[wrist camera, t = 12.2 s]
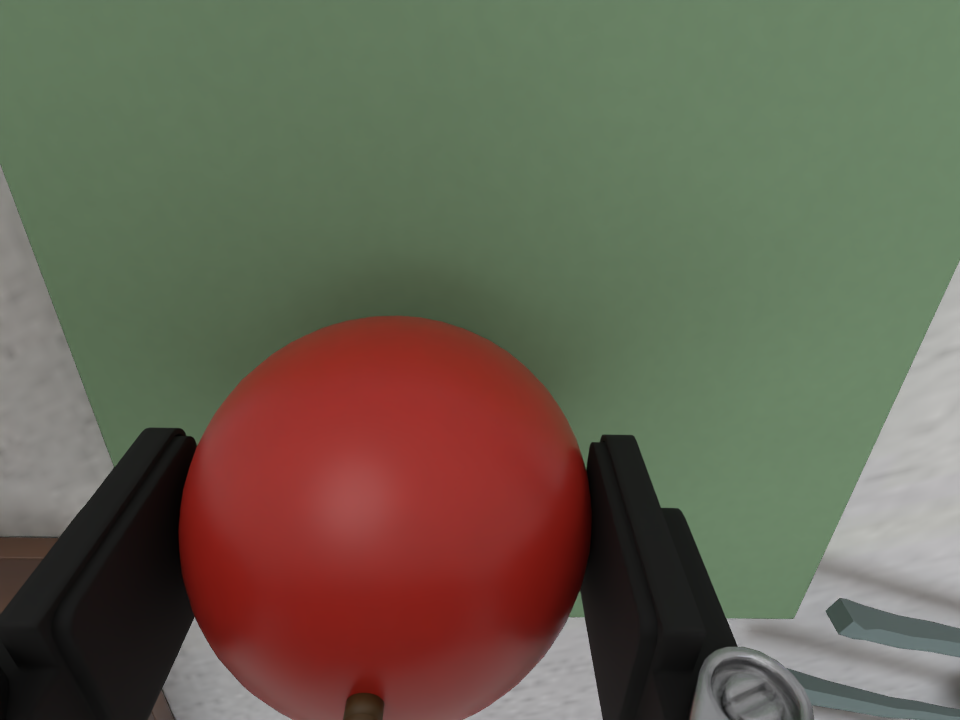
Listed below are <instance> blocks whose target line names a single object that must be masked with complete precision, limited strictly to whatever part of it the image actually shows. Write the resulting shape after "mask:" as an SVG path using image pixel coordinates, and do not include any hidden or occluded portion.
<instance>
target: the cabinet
mask: <svg viewBox="0 0 960 720" xmlns="http://www.w3.org/2000/svg"><path fill="white" fill-rule="evenodd" d="M58 539H59V538H26V537H0V614H1V613H2V611H3V610H4V609H5V608H6V606H7V605H8V604H9V602H10V601H11V600H12V598H13V597H14V596H15V595H16V593H17V592H18V591H19V589H20V588H21V587H22V585H23V584H24V583H25V582H26V580H27V579H28V578H29V576H30V575H31V574H32V573H33V571H34V570H35V569H36V567H37V566H38V565H39V563H40V562H41V561H42V560H43V558H44V557H45V556H46V554H47V553H48V552H49V550H50V549H51V548H52V547H53V545H54V544H55V543H56V541H57V540H58ZM148 720H174V718H173V715H172V713H171V711H170V708H169V706H168V704H167V701H166V699H165V697H164V694H163V692H162V690H161V692H160V694H159V696H158V699H157V701H156V703H155V705H154V707H153V710H152V712H151V714H150V716H149V718H148Z"/></svg>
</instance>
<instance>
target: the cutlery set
mask: <svg viewBox="0 0 960 720" xmlns="http://www.w3.org/2000/svg"><path fill="white" fill-rule="evenodd" d="M826 613H827V614H828V616H829V618H830V620H831V622H832V623H833V625H834V627H835V629H836V631H837V632H838V634H840V635H843V636H846V637H849V638H852V639H859V640H867V641H871V642H875V643H879V644H884V645H888V646H892V647H896V648H903V649H911V650H920V651H928V652H934V653H939V654H945V655H950V656H955V657H960V629H959V628H955V627H951V626H947V625H943V624H939V623H935V622H930V621H925V620H920V619H915V618H909V617H904V616H898V615H895V614H892V613H888V612H885V611H881V610H878V609H874V608H871V607H867V606H864V605H861V604H858V603H856V602H853V601H850V600H847V599H843V598H839V599H838V600H837V601H836V602H835V603H834V604H833V605H832V606H830V607H829V608H828V609H827V610H826ZM786 669H787V668H786ZM788 670H789V671H790V672H791V673H792V674H793V675H794V676H795V678H796V679H797V680H798V681H799V683H800V684H801V685H802V686H803V688H804V689H805V692H806V694H807V696H808V698H809V700H810V702H811V704H812V705H815V706H821V707H827V708H833V709H839V710H845V711H851V712H856V713H862V714H867V715H873V716H879V717H886V718H902V719H915V720H960V709H954V708H947V707H942V706H937V705H933V704H928V703H924V702H919V701H913V700H906V699H900V698H893V697H888V696H884V695H880V694H877V693H873V692H869V691H865V690H862V689H858V688H854V687H850V686H846V685H842V684H838V683H834V682H830V681H826V680H823V679H820V678H817V677H813V676H810V675H807V674H804V673H801V672H797V671H794V670H791V669H788Z"/></svg>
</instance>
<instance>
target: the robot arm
mask: <svg viewBox="0 0 960 720" xmlns="http://www.w3.org/2000/svg"><path fill="white" fill-rule="evenodd" d="M196 448H197V444H196V441H195V439H194V438H193V437H192V436H186V433H185V431H184V430H183V429H181V428H154V427H149V428H146V429H144V430H143V431H142V432H141V433H140V435H139V436H138V437H137V439H136V440H135V441H134V443H133V444H132V445H131V446H130V448H129V449H128V450H127V452H126V453H125V454H124V456H123V457H122V458H121V459H120V461H119V462H118V463H117V465H116V466H115V467H114V469H113V470H112V471H111V473H110V474H109V475H108V476H107V478H106V479H105V480H104V482H103V483H102V484H101V486H100V487H99V488H98V489H97V491H96V492H95V493H94V495H93V496H92V497H91V499H90V500H89V501H88V502H87V504H86V505H85V506H84V507H83V508H82V509H81V510H80V512H79V513H78V514H77V515H76V517H75V518H74V519H73V521H72V522H71V523H70V525H69V526H68V527H67V528H66V530H65V531H64V532H63V534H62V535H61V536H60V537H59V539H58V540H57V541H56V543H55V544H54V545H53V547H52V548H51V549H50V550H49V552H48V553H47V554H46V556H45V557H44V558H43V560H42V561H41V562H40V563H39V565H38V566H37V567H36V569H35V570H34V571H33V573H32V574H31V575H30V576H29V578H28V579H27V580H26V582H25V583H24V584H23V585H22V587H21V588H20V589H19V591H18V592H17V593H16V595H15V596H14V597H13V598H12V600H11V601H10V602H9V604H8V605H7V606H6V608H5V609H4V610H3V611H2V613H1V614H0V720H148V718H149V716H150V714H151V712H152V710H153V707H154V705H155V703H156V701H157V699H158V696H159V694H160V692H161V690H162V687H163V685H164V683H165V681H166V679H167V676H168V674H169V672H170V670H171V668H172V665H173V663H174V661H175V659H176V657H177V654H178V652H179V650H180V648H181V646H182V643H183V641H184V639H185V637H186V635H187V632H188V630H189V628H190V626H191V623H192V621H193V619H194V617H195V616H194V613H193V611H192V608H191V605H190V601H189V598H188V595H187V592H186V588H185V584H184V580H183V576H182V571H181V562H180V552H179V534H178V530H179V518H180V507H181V501H182V494H183V488H184V485H185V481H186V477H187V474H188V470H189V467H190V464H191V461H192V459H193V456H194V453H195V450H196ZM586 471H587V475H588V482H589V489H590V498H591V507H592V525H591V541H590V552H589V557H588V561H587V566H586V570H585V574H584V578H583V582H582V585H581V589H580V593H581V599H582V604H583V610H584V615H585V621H586V627H587V632H588V638H589V644H590V649H591V655H592V660H593V666H594V672H595V677H596V683H597V689H598V694H599V700H600V706H601V711H602V717H603V720H814V715H813V709H812V704H811V702H810V700H809V698H808V696H807V694H806V692H805V689H804V688H803V686H802V685H801V684H800V683H799V681H798V680H797V679H796V678H795V676H794V675H793V674H792V673H791V672H790V671H789V670H788V669H786V668H785V667H784V666H783V665H781V664H780V663H779V662H778V661H777V660H775V659H773V658H771V657H769V656H767V655H766V654H764V653H762V652H760V651H756V650H753V649H749V648H746V647H738V646H737V644H736V641H735V639H734V637H733V634H732V632H731V629H730V627H729V624H728V622H727V619H726V617H725V614H724V612H723V609H722V607H721V604H720V602H719V600H718V597H717V595H716V592H715V590H714V587H713V585H712V582H711V580H710V577H709V575H708V572H707V570H706V568H705V565H704V563H703V560H702V558H701V555H700V553H699V550H698V548H697V545H696V543H695V540H694V538H693V535H692V533H691V531H690V528H689V526H688V523H687V521H686V518H685V516H684V515H683V513H682V511H681V510H680V509H679V508H661V506H660V504H659V501H658V498H657V495H656V493H655V490H654V487H653V484H652V482H651V479H650V476H649V474H648V471H647V468H646V465H645V463H644V460H643V457H642V454H641V452H640V449H639V446H638V443H637V441H636V439H635V437H634V436H633V435H606V434H604V435H602V436H601V439H600V442H592V443H591V444H590V447H589V454H588V460H587V467H586Z"/></svg>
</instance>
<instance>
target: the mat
mask: <svg viewBox="0 0 960 720" xmlns="http://www.w3.org/2000/svg"><path fill="white" fill-rule="evenodd" d="M0 164H1V167H2V170H3V172H4V175H5V178H6V180H7V183H8V186H9V188H10V191H11V194H12V196H13V199H14V202H15V204H16V207H17V210H18V212H19V215H20V218H21V220H22V223H23V226H24V228H25V231H26V234H27V236H28V239H29V242H30V244H31V247H32V250H33V252H34V255H35V258H36V260H37V263H38V266H39V268H40V271H41V274H42V276H43V279H44V282H45V284H46V287H47V289H48V292H49V295H50V297H51V300H52V303H53V305H54V308H55V311H56V313H57V316H58V319H59V321H60V324H61V327H62V329H63V332H64V335H65V337H66V340H67V343H68V345H69V348H70V351H71V353H72V356H73V359H74V361H75V364H76V367H77V369H78V372H79V375H80V377H81V380H82V383H83V385H84V388H85V391H86V393H87V396H88V399H89V401H90V404H91V407H92V409H93V412H94V415H95V417H96V420H97V423H98V425H99V428H100V431H101V433H102V436H103V439H104V441H105V444H106V447H107V449H108V452H109V455H110V457H111V460H112V463H113V465H114V467H115V466H116V465H117V463H118V462H119V461H120V459H121V458H122V457H123V456H124V454H125V453H126V452H127V450H128V449H129V448H130V446H131V445H132V444H133V443H134V441H135V440H136V439H137V437H138V436H139V435H140V433H141V432H142V431H143V430H144V429H146V428H149V427H154V428H181V429H183V430H184V431H185V433H186V436H192V437H193V438H194V439H195V441H196V444H197V446H198V444H199V442H200V440H201V438H202V436H203V434H204V432H205V430H206V428H207V426H208V425H209V423H210V421H211V420H212V418H213V416H214V414H215V413H216V411H217V410H218V409H219V407H220V406H221V405H222V403H223V402H224V401H225V399H226V398H227V397H228V396H229V394H230V393H231V392H232V391H233V390H234V389H235V387H236V386H237V385H238V384H239V383H240V382H241V380H242V379H243V378H245V377H246V376H247V375H248V374H249V373H250V372H252V371H253V370H254V369H255V368H256V367H258V366H259V365H260V364H261V363H262V362H263V361H265V360H266V359H267V358H268V357H269V356H271V355H272V354H273V353H275V352H276V351H278V350H280V349H281V348H283V347H285V346H286V345H288V344H289V343H291V342H293V341H295V340H297V339H299V338H301V337H303V336H305V335H307V334H310V333H312V332H314V331H317V330H319V329H321V328H323V327H327V326H330V325H333V324H337V323H340V322H344V321H348V320H354V319H360V318H366V317H375V316H410V317H421V318H426V319H431V320H437V321H442V322H445V323H448V324H451V325H454V326H457V327H461V328H463V329H466V330H468V331H470V332H473V333H475V334H477V335H479V336H481V337H484V338H486V339H488V340H490V341H491V342H493V343H494V344H496V345H498V346H499V347H501V348H503V349H504V350H506V351H507V352H509V353H510V354H511V355H512V356H514V357H515V358H516V359H517V360H518V361H520V362H521V363H522V364H523V365H525V366H526V367H527V368H528V369H529V370H530V371H531V372H532V373H533V374H534V376H535V377H536V378H537V379H538V380H539V381H540V382H541V383H542V384H543V385H544V386H545V387H546V388H547V389H548V391H549V392H550V394H551V395H552V397H553V398H554V400H555V401H556V402H557V404H558V405H559V407H560V408H561V410H562V412H563V413H564V415H565V417H566V418H567V420H568V422H569V424H570V427H571V429H572V431H573V433H574V435H575V437H576V439H577V442H578V445H579V448H580V451H581V454H582V457H583V461H584V464H585V468H586V467H587V460H588V454H589V447H590V444H591V443H592V442H600V439H601V436H602V435H604V434H606V435H633V436H634V437H635V439H636V441H637V443H638V446H639V449H640V452H641V454H642V457H643V460H644V463H645V465H646V468H647V471H648V474H649V476H650V479H651V482H652V484H653V487H654V490H655V493H656V495H657V498H658V501H659V504H660V506H661V508H679V509H680V510H681V511H682V513H683V515H684V516H685V518H686V521H687V523H688V526H689V528H690V531H691V533H692V535H693V538H694V540H695V543H696V545H697V548H698V550H699V553H700V555H701V558H702V560H703V563H704V565H705V568H706V570H707V572H708V575H709V577H710V580H711V582H712V585H713V587H714V590H715V592H716V595H717V597H718V600H719V602H720V604H721V607H722V609H723V612H724V614H725V617H726V618H751V619H793V618H794V617H795V615H796V613H797V611H798V609H799V606H800V604H801V602H802V600H803V598H804V596H805V593H806V591H807V589H808V587H809V585H810V583H811V580H812V578H813V576H814V574H815V572H816V570H817V568H818V565H819V563H820V561H821V559H822V557H823V555H824V552H825V550H826V548H827V546H828V544H829V542H830V539H831V537H832V535H833V533H834V531H835V529H836V526H837V524H838V522H839V520H840V518H841V516H842V513H843V511H844V509H845V507H846V505H847V503H848V501H849V498H850V496H851V494H852V492H853V490H854V488H855V485H856V483H857V481H858V479H859V477H860V475H861V472H862V470H863V468H864V466H865V464H866V462H867V459H868V457H869V455H870V453H871V451H872V449H873V446H874V444H875V442H876V440H877V438H878V436H879V434H880V431H881V429H882V427H883V425H884V423H885V421H886V418H887V416H888V414H889V412H890V410H891V408H892V405H893V403H894V401H895V399H896V397H897V395H898V392H899V390H900V388H901V386H902V384H903V382H904V379H905V377H906V375H907V373H908V371H909V369H910V367H911V364H912V362H913V360H914V358H915V356H916V354H917V351H918V349H919V347H920V345H921V343H922V341H923V338H924V336H925V334H926V332H927V330H928V328H929V325H930V323H931V321H932V319H933V317H934V315H935V312H936V310H937V308H938V306H939V304H940V302H941V300H942V297H943V295H944V293H945V291H946V289H947V287H948V284H949V282H950V280H951V278H952V276H953V274H954V271H955V269H956V267H957V265H958V263H959V261H960V0H0ZM569 617H585V615H584V610H583V604H582V599H581V593H580V592H579V594H578V596H577V599H576V601H575V604H574V606H573V609H572V611H571V613H570V615H569Z"/></svg>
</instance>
